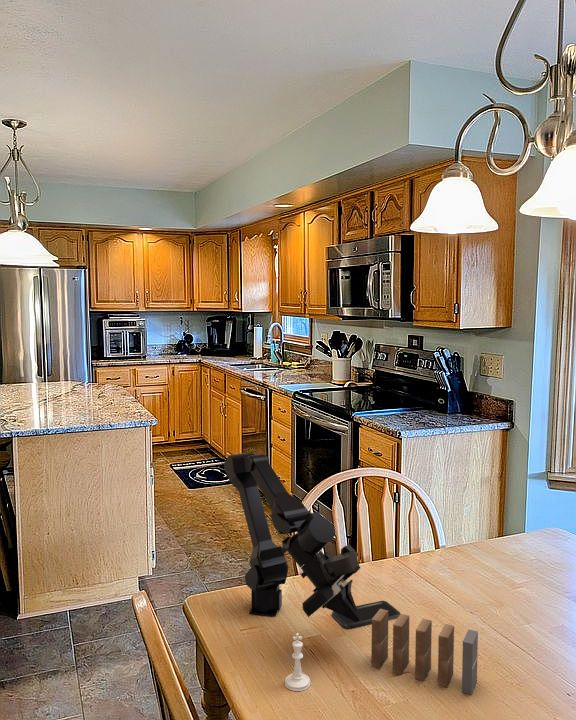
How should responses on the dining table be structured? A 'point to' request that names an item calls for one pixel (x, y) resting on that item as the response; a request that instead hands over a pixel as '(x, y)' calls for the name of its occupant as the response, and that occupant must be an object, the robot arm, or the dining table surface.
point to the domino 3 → (423, 650)
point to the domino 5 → (469, 662)
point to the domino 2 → (400, 644)
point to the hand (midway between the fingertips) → (358, 620)
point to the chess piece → (297, 669)
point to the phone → (366, 614)
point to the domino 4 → (445, 655)
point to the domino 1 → (379, 638)
